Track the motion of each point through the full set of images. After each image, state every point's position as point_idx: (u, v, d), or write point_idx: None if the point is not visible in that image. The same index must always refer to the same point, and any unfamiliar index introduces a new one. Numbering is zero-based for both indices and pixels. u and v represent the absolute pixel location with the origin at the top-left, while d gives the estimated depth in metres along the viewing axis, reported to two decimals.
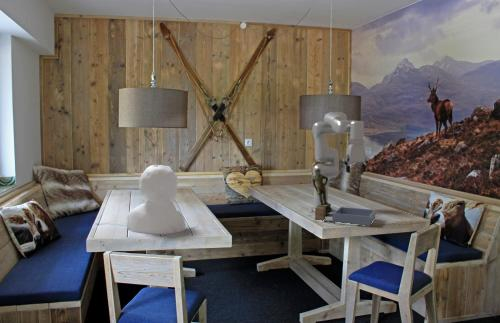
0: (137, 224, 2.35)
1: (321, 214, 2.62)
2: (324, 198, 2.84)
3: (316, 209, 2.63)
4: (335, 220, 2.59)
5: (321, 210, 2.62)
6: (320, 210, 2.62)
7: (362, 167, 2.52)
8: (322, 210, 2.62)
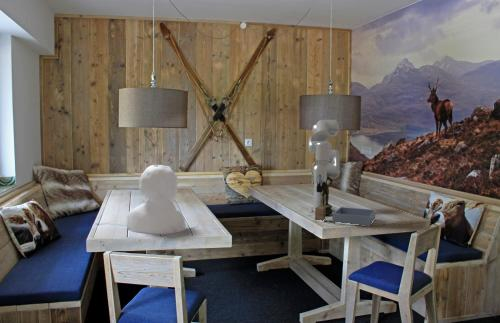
0: (137, 224, 2.35)
1: (321, 214, 2.62)
2: (326, 199, 2.84)
3: (316, 209, 2.63)
4: (335, 220, 2.59)
5: (321, 210, 2.62)
6: (320, 210, 2.62)
7: (323, 185, 2.68)
8: (322, 210, 2.62)
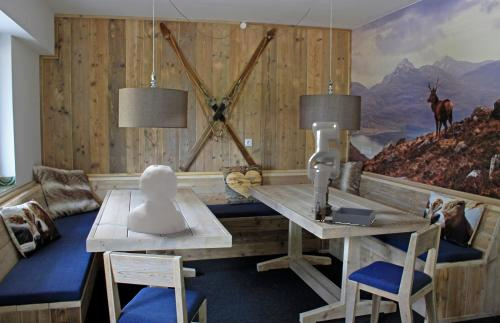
0: (137, 224, 2.35)
1: None
2: (326, 199, 2.84)
3: None
4: (335, 220, 2.59)
5: None
6: None
7: None
8: (322, 210, 2.62)
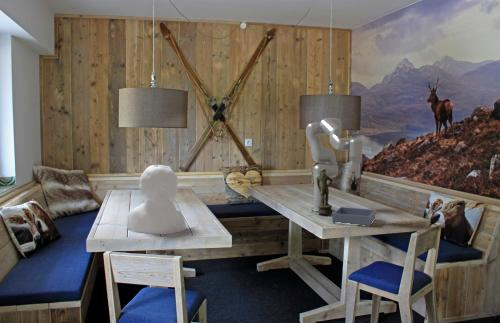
0: (137, 224, 2.35)
1: None
2: (326, 199, 2.84)
3: None
4: (335, 220, 2.59)
5: (356, 180, 2.60)
6: None
7: None
8: (357, 180, 2.60)
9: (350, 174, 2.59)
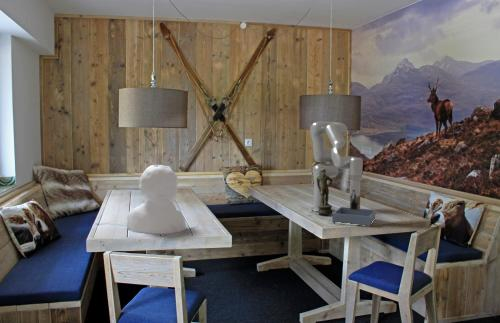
0: (137, 224, 2.35)
1: None
2: (326, 199, 2.84)
3: (351, 197, 2.62)
4: (335, 220, 2.59)
5: None
6: (355, 198, 2.61)
7: None
8: (357, 198, 2.61)
9: (350, 193, 2.60)
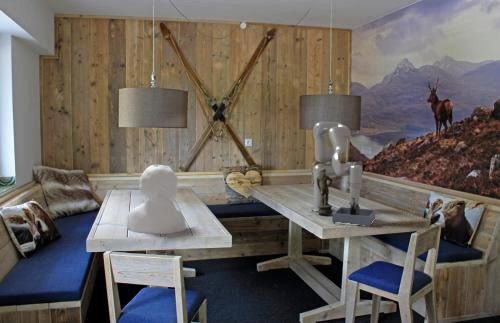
0: (137, 224, 2.35)
1: (356, 213, 2.62)
2: (326, 199, 2.84)
3: None
4: (335, 220, 2.59)
5: (356, 209, 2.62)
6: None
7: None
8: (357, 209, 2.61)
9: (350, 200, 2.60)
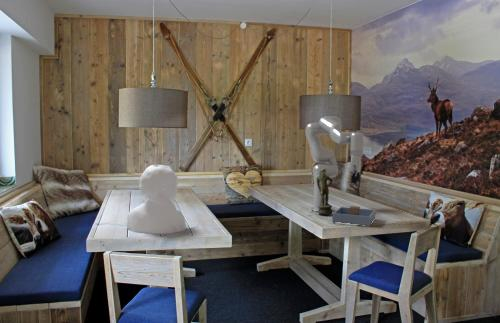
0: (137, 224, 2.35)
1: (356, 213, 2.62)
2: (326, 199, 2.84)
3: (350, 208, 2.63)
4: (335, 220, 2.59)
5: (356, 209, 2.62)
6: (355, 209, 2.62)
7: (356, 176, 2.67)
8: (357, 209, 2.61)
9: (351, 168, 2.58)
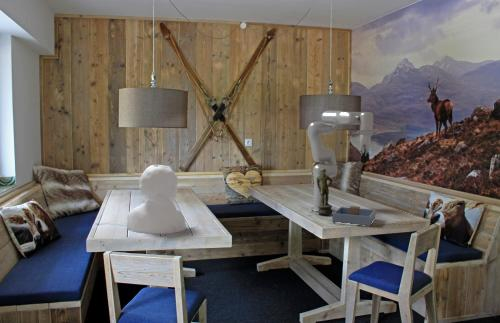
0: (137, 224, 2.35)
1: (356, 213, 2.62)
2: (326, 199, 2.84)
3: (350, 208, 2.63)
4: (335, 220, 2.59)
5: (356, 209, 2.62)
6: (355, 209, 2.62)
7: None
8: (357, 209, 2.61)
9: (361, 147, 2.56)
